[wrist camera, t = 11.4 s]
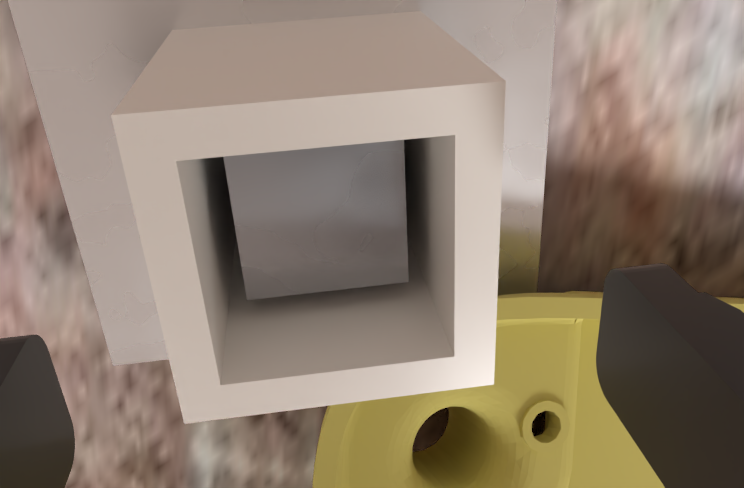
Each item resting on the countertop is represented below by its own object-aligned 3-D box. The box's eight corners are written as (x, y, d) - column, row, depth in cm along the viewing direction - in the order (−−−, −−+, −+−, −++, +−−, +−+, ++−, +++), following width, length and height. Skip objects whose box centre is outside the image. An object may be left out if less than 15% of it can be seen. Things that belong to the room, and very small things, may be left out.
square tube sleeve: (419, 11, 17) (505, 80, 11) (424, 228, 20) (494, 384, 13) (172, 29, 16) (110, 114, 10) (212, 251, 19) (184, 423, 13)
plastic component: (928, 310, 22) (906, 618, 22) (748, 289, 29) (732, 522, 29) (324, 286, 17) (300, 685, 17) (284, 268, 24) (268, 549, 24)
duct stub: (552, -162, 16) (685, -187, 11) (525, 298, 22) (603, 424, 17) (-13, -130, 15) (-166, -140, 10) (119, 346, 21) (68, 497, 16)
